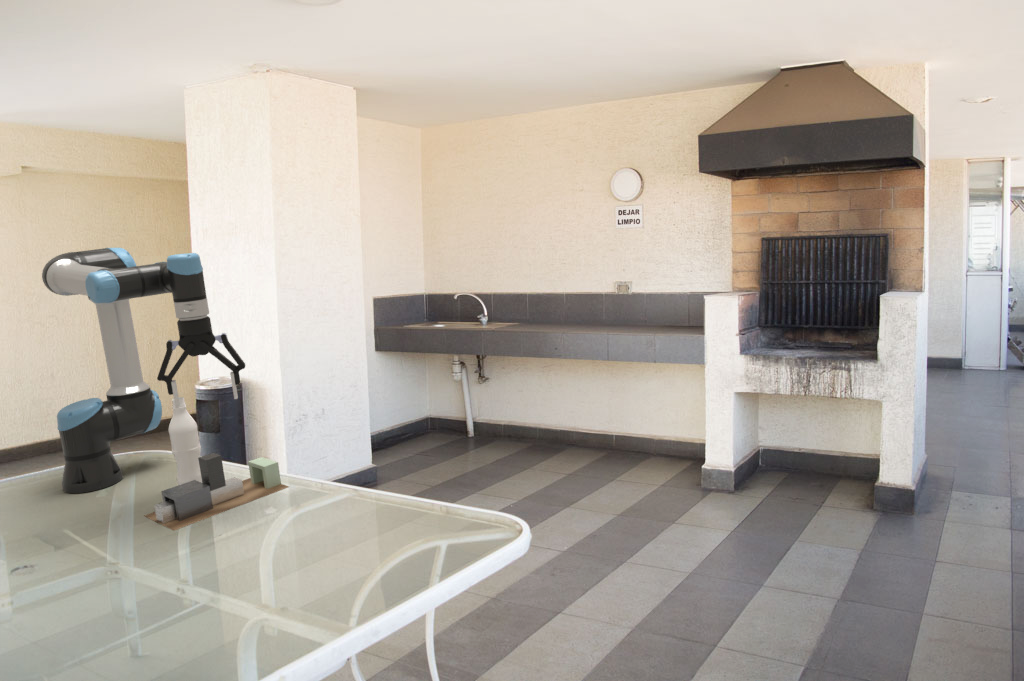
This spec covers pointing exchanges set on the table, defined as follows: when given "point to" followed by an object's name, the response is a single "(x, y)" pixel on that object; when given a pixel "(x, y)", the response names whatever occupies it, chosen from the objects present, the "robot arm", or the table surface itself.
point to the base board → (224, 504)
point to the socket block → (264, 472)
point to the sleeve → (189, 499)
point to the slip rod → (210, 476)
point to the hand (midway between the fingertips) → (207, 402)
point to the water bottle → (185, 444)
